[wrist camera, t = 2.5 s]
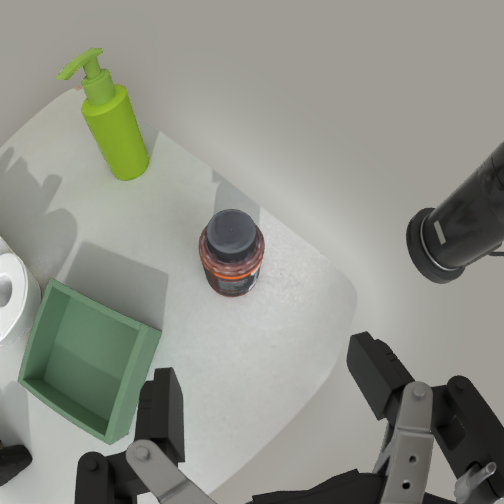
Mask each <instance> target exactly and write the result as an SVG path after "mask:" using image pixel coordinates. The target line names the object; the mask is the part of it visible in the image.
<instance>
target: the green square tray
mask: <svg viewBox="0 0 504 504" xmlns="http://www.w3.org/2000/svg"><path fill="white" fill-rule="evenodd" d="M161 334H162V331H159V330H157V329H154V328H152V327H150V326H147V325H145V324H143V323H141V322H138V321H136V320H134V319H132V318H129V317H127V316H125V315H123V314H121V313H119V312H116V311H114V310H112V309H110V308H108V307H106V306H104V305H102V304H100V303H98V302H96V301H94V300H92V299H90V298H88V297H86V296H84V295H82V294H80V293H78V292H76V291H75V290H73V289H71V288H69V287H67V286H65V285H63V284H62V283H60V282H58V281H56V280H55V279H53V278H50V281H49V283H48V286H47V288H46V291H45V293H44V296H43V298H42V301H41V304H40V306H39V309H38V312H37V315H36V317H35V320H34V323H33V326H32V329H31V333H30V336H29V339H28V342H27V346H26V349H25V353H24V357H23V360H22V364H21V368H20V372H19V377H18V382H19V383H20V384H21V385H22V386H23V387H25V388H26V389H27V390H28V391H29V392H31V393H32V394H33V395H34V396H36V397H37V398H38V399H39V400H41V401H42V402H43V403H45V404H46V405H47V406H49V407H50V408H51V409H53V410H54V411H56V412H57V413H58V414H60V415H61V416H63V417H64V418H66V419H67V420H69V421H70V422H72V423H73V424H75V425H76V426H78V427H79V428H81V429H83V430H84V431H86V432H88V433H89V434H91V435H93V436H94V437H96V438H98V439H99V440H101V441H104V442H105V443H106V444H108V445H111V444H113V443H115V442H116V441H118V440H120V439H121V438H123V437H124V436H126V435H127V434H128V431H129V428H130V425H131V421H132V418H133V415H134V412H135V409H136V406H137V403H138V400H139V396H140V390H141V388H142V386H143V384H144V382H145V379H146V376H147V373H148V370H149V367H150V364H151V361H152V358H153V356H154V353H155V350H156V347H157V345H158V342H159V339H160V336H161Z"/></svg>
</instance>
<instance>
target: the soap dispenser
mask: <svg viewBox="0 0 504 504" xmlns="http://www.w3.org/2000/svg"><path fill="white" fill-rule="evenodd" d="M102 52H103V51H102V48H90V49H89V50H87V51H85V52H84V53H82V54H81V55H79V56H77V57H76V58H75V59H73V60H72V61H71V62H70V63H69V64H67V65H66V66H65V68H64V69H63V70H62V71H61V72H60V73H59V74H58V76H57V77H56V79H62V80H68V79H69V78H70V77H71V76H72V75H73V74H74V73H75V72H76V71H77V70H78V69H79V68H80V67H82V66H83V68H84V71H85V74H86V76H85V78H84V79H83V80H82V87H83V89H84V92H85V94H86V96H87V98H86V100H85V101H84V102H83V104H82V107H81V112H82V114H83V116H84V118H85V120H86V122H87V124H88V126H89V128H90V130H91V132H92V134H93V136H94V138H95V140H96V142H97V144H98V146H99V148H100V150H101V152H102V154H103V156H104V158H105V159H106V161H107V163H108V165H109V167H110V169H111V171H112V172H113V174H114V176H115V177H116V178H117V179H120V180H131V179H134V178H136V177H138V176H140V175H141V174H142V173H143V172H144V171H145V170H146V168H147V166H148V164H149V157H148V154H147V151H146V148H145V146H144V143H143V140H142V137H141V134H140V131H139V128H138V125H137V122H136V119H135V116H134V113H133V110H132V106H131V103H130V100H129V97H128V94H127V91H126V88H125V87H124V86H122V85H113V82H112V79H111V76H110V73H109V70H108V69H100V67H99V64H98V60H97V57H96V56H98V55H99V54H101V53H102Z"/></svg>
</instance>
